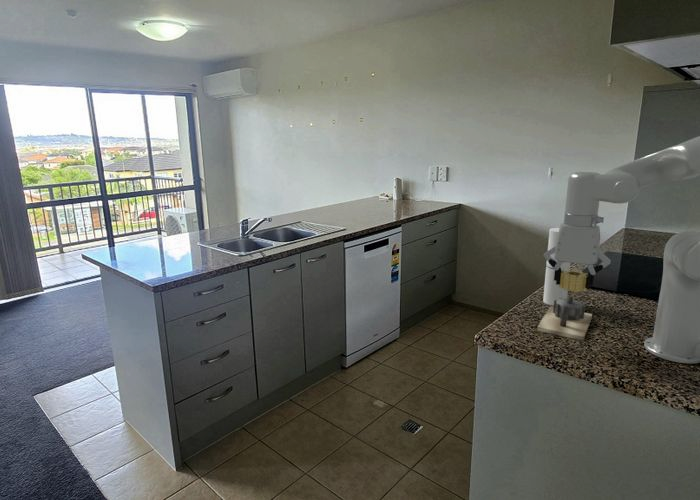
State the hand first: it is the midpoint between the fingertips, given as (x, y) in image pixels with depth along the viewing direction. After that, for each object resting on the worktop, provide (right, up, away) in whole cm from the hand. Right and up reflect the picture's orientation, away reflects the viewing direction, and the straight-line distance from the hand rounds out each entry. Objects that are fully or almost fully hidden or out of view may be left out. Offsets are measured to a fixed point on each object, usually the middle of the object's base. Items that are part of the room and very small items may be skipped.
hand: (572, 284), depth 115 cm
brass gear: (0, -1, 0) cm, 1 cm away
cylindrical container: (+9, -8, +30) cm, 32 cm away
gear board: (+4, -13, +13) cm, 18 cm away
